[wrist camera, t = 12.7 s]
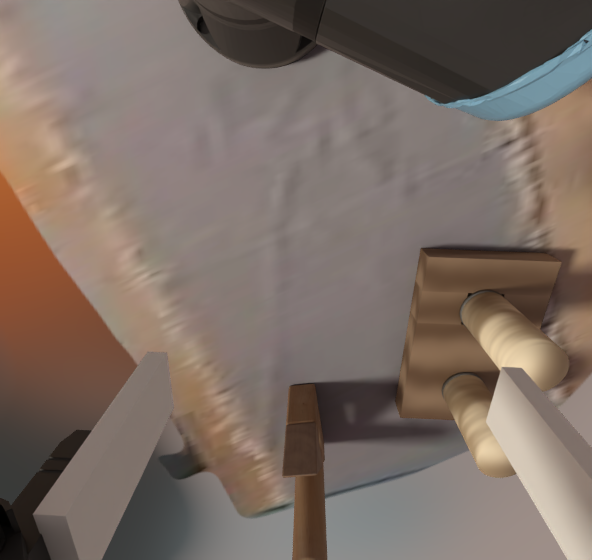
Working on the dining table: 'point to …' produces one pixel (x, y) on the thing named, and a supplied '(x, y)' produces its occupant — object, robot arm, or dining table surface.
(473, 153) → the dining table surface
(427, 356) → the walnut board
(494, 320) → the beech peg
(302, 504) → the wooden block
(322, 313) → the dining table surface
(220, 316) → the dining table surface
